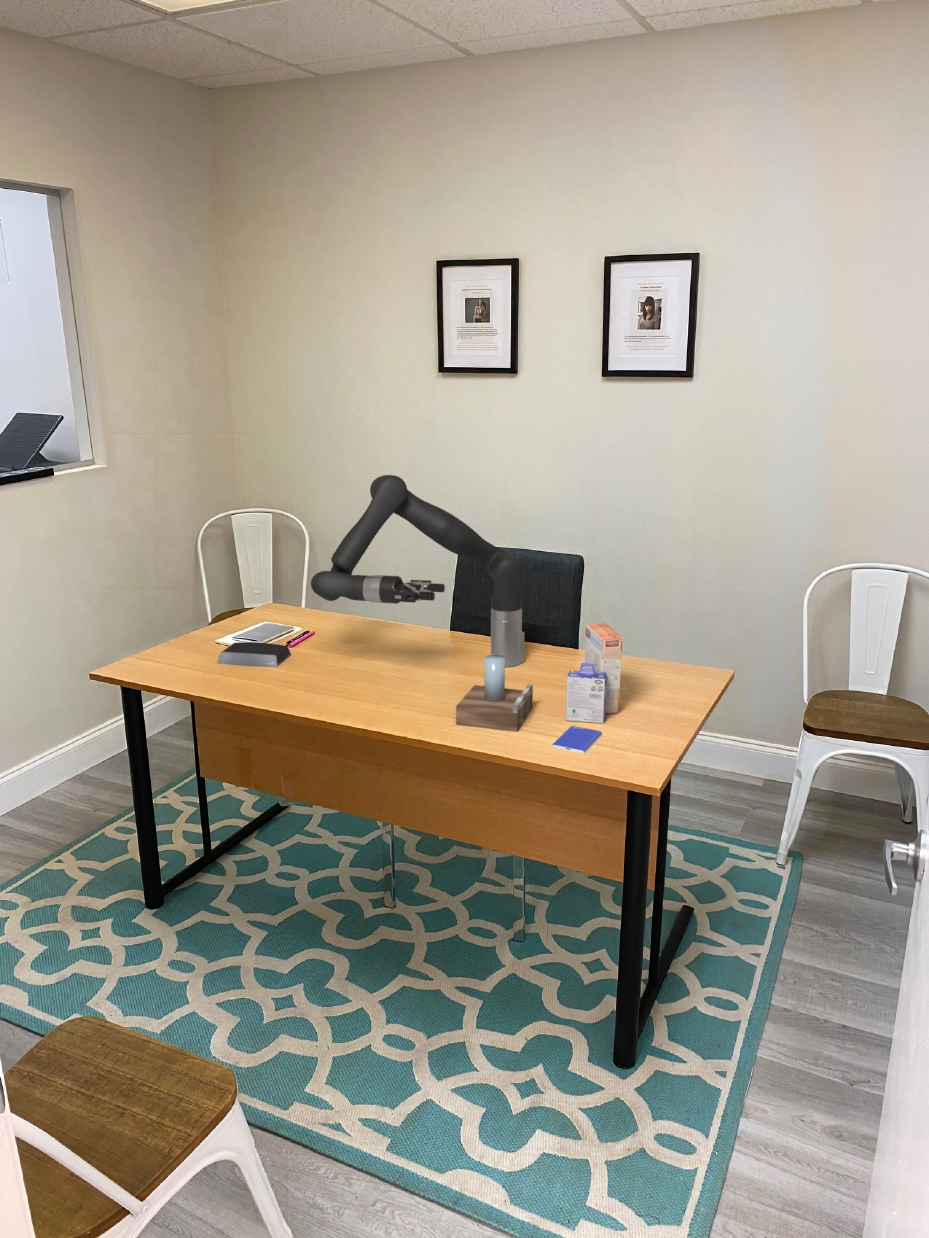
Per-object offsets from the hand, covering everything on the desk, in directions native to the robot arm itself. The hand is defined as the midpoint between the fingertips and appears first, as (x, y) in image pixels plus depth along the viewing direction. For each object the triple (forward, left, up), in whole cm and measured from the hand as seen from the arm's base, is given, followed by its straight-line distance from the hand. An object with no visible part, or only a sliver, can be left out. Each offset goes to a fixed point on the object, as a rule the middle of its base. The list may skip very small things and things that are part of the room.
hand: (439, 592), depth 251 cm
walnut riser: (-5, +22, -29) cm, 37 cm away
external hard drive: (+37, -53, -30) cm, 71 cm away
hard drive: (-15, +45, -30) cm, 56 cm away
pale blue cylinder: (-5, +22, -24) cm, 33 cm away
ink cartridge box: (-25, +34, -29) cm, 51 cm away
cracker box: (-34, +28, -29) cm, 53 cm away
